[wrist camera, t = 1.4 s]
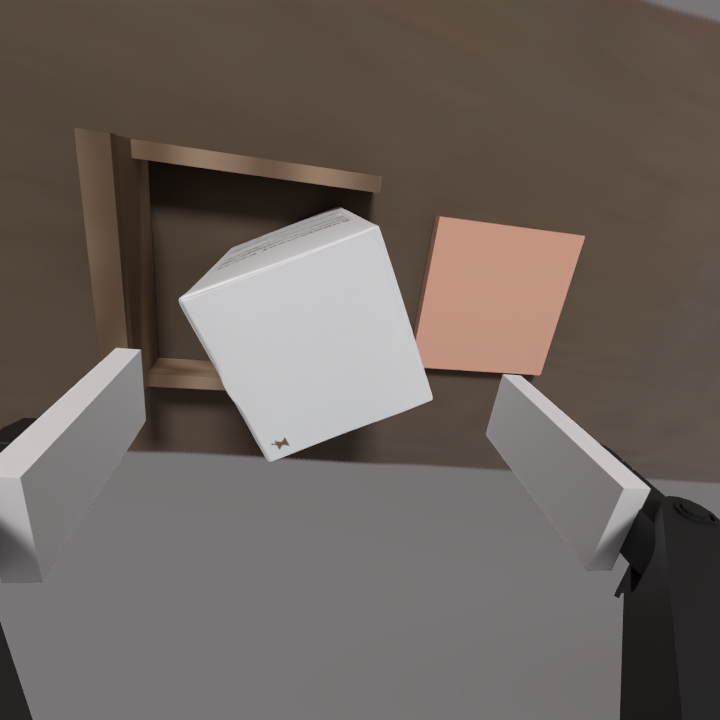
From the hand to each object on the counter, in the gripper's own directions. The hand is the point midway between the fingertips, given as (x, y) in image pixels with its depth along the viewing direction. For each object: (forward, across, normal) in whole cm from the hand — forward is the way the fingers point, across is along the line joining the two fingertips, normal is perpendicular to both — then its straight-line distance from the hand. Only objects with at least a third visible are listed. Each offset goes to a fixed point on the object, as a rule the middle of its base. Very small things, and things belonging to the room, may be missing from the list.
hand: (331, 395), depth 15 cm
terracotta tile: (+18, +14, 0) cm, 23 cm away
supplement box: (+18, 0, 0) cm, 19 cm away
